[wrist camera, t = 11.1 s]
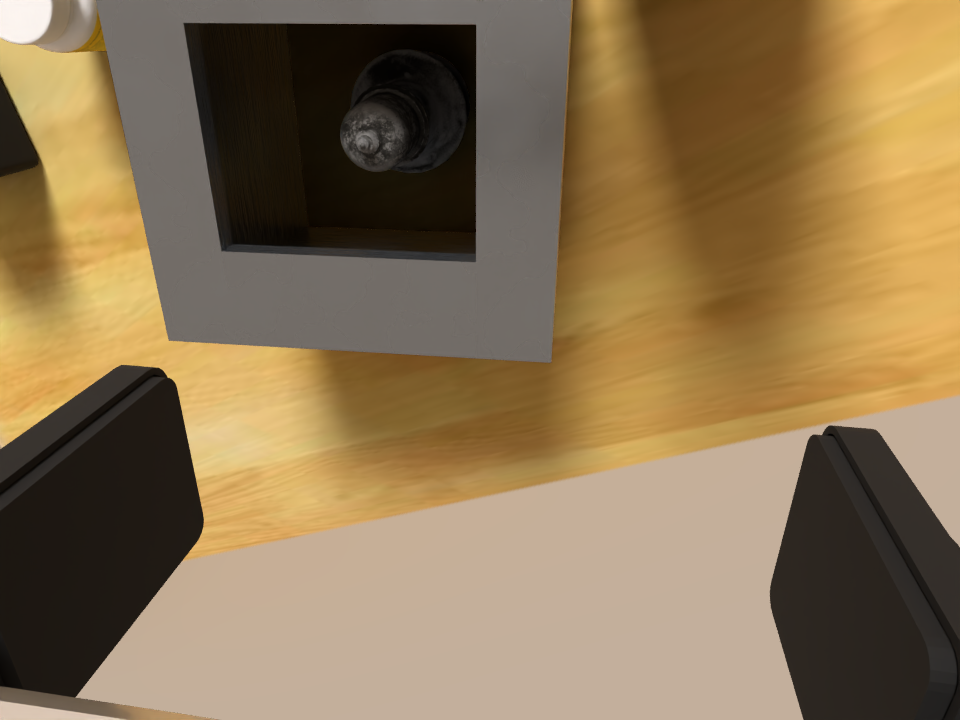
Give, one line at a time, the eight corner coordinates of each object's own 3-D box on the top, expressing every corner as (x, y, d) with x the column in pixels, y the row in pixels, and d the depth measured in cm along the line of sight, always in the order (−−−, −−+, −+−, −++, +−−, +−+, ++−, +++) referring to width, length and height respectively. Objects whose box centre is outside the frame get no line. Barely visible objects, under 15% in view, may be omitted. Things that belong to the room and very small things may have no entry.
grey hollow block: (576, -70, 33) (578, -127, 20) (558, 252, 40) (551, 362, 27) (257, -67, 35) (70, -118, 22) (294, 241, 42) (168, 340, 29)
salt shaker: (438, 180, 39) (388, 247, 29) (349, 117, 38) (264, 163, 28) (496, 89, 37) (465, 126, 26) (403, 19, 36) (331, 29, 25)
